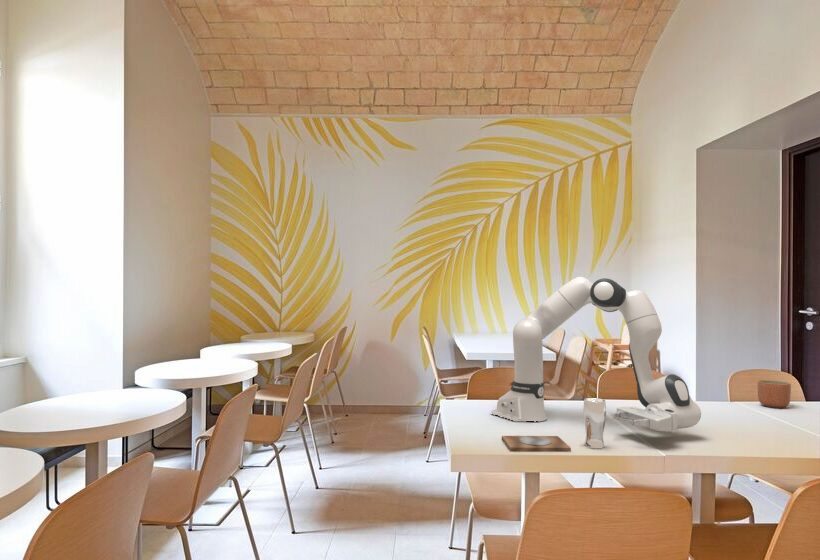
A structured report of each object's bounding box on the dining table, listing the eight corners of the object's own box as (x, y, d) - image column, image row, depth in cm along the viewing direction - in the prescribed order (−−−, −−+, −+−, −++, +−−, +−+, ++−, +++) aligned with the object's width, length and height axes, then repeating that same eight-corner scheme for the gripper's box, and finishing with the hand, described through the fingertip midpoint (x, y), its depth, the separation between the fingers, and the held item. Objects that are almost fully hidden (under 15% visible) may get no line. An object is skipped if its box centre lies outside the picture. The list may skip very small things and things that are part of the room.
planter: (797, 410, 242) (797, 384, 242) (768, 409, 242) (768, 384, 242) (779, 404, 254) (779, 379, 254) (751, 403, 254) (751, 379, 254)
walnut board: (510, 451, 174) (510, 446, 174) (501, 439, 188) (501, 434, 188) (570, 451, 175) (570, 446, 175) (557, 439, 189) (557, 435, 189)
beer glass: (579, 443, 184) (580, 397, 185) (600, 443, 185) (600, 397, 185) (588, 449, 177) (588, 402, 178) (609, 449, 178) (609, 401, 178)
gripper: (636, 401, 199) (603, 403, 195) (680, 413, 180) (645, 416, 175) (635, 419, 199) (603, 421, 195) (680, 433, 180) (645, 436, 175)
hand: (623, 419), depth 185 cm, fingers open, 8 cm apart
